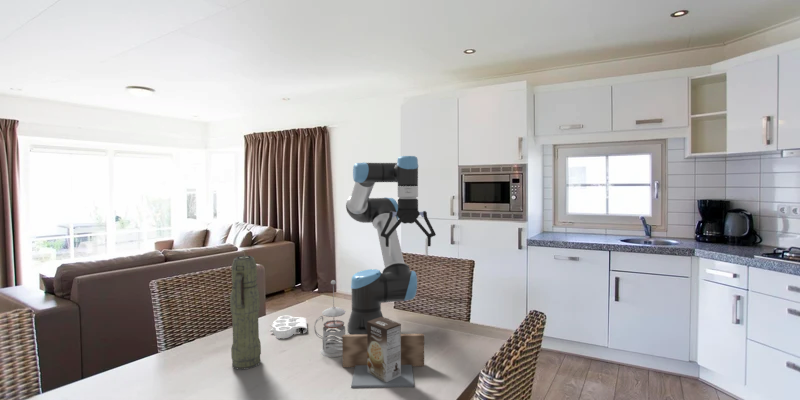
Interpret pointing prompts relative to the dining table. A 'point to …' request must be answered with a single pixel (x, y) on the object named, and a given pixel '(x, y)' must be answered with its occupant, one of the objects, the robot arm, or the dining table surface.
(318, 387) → the dining table surface
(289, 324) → the white flat lobed piece
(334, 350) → the french press
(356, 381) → the grey mat
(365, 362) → the walnut board
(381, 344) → the coffee box
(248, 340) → the green canvas bag
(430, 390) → the dining table surface
